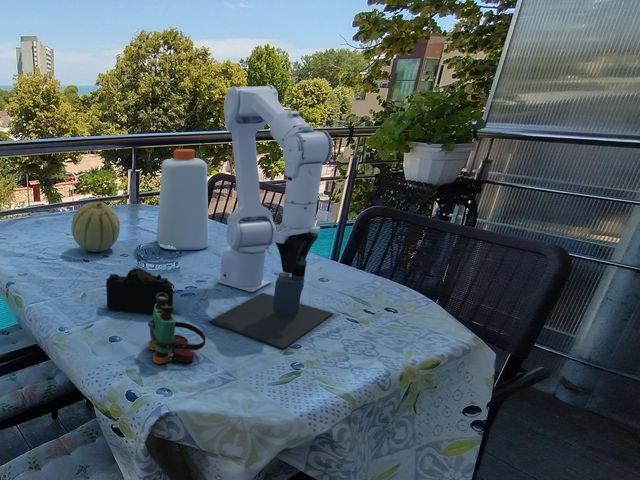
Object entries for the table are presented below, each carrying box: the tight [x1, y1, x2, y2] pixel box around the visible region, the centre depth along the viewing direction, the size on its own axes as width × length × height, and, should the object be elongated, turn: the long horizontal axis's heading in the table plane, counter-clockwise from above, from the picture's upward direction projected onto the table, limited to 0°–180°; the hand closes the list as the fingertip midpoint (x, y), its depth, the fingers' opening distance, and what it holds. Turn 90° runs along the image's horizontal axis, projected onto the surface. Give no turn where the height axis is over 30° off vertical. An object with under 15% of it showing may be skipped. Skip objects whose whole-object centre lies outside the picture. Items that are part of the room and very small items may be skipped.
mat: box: [209, 292, 334, 351], centre depth 94 cm, size 16×20×1 cm
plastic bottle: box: [156, 148, 210, 251], centre depth 138 cm, size 15×15×28 cm
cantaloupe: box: [70, 201, 121, 253], centre depth 138 cm, size 15×15×15 cm
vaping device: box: [273, 255, 308, 314], centre depth 91 cm, size 3×5×12 cm, turn 79°
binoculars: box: [147, 293, 207, 365], centre depth 81 cm, size 9×11×10 cm
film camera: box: [105, 267, 175, 315], centre depth 101 cm, size 15×10×9 cm, turn 71°
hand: (291, 270), depth 91 cm, fingers closed on vaping device, 2 cm apart
